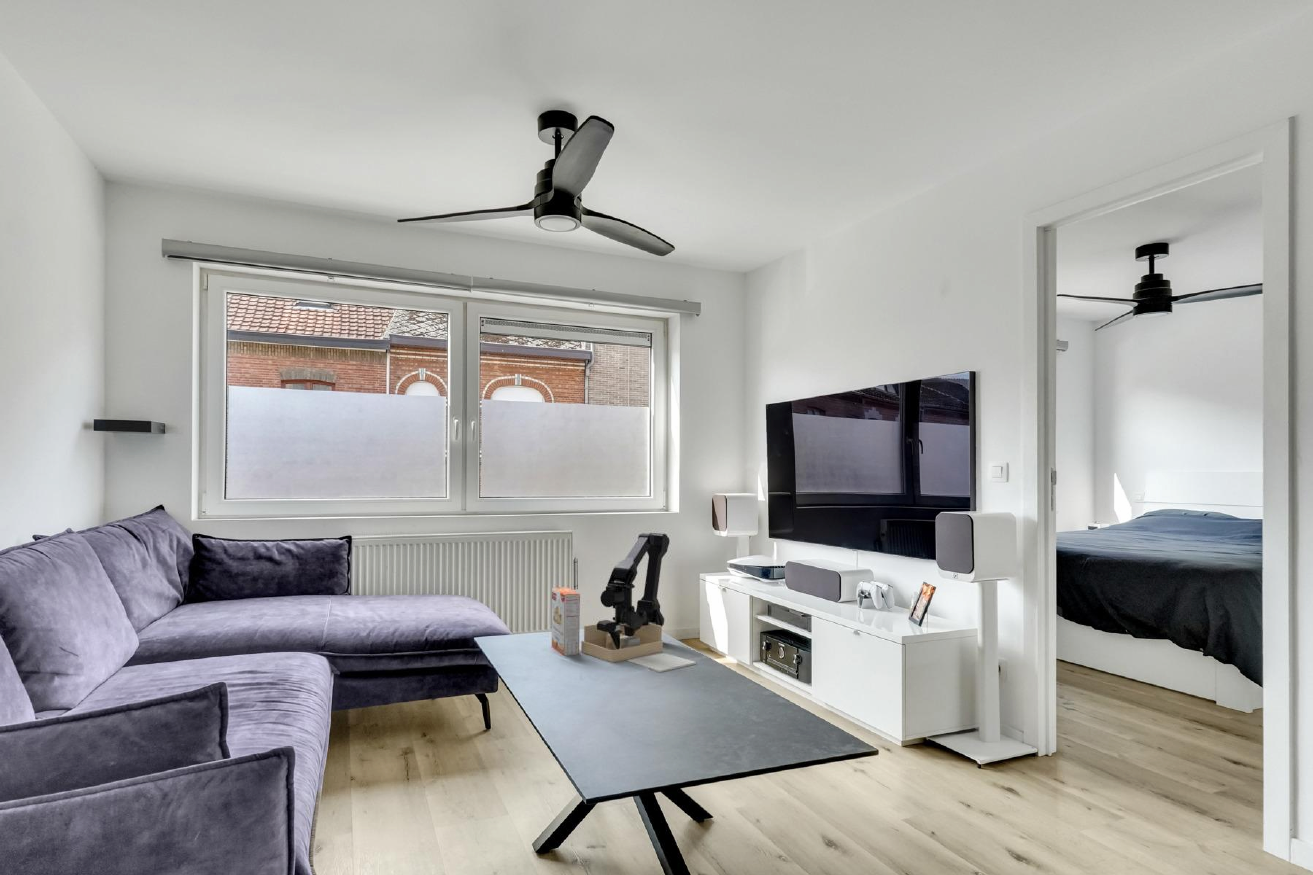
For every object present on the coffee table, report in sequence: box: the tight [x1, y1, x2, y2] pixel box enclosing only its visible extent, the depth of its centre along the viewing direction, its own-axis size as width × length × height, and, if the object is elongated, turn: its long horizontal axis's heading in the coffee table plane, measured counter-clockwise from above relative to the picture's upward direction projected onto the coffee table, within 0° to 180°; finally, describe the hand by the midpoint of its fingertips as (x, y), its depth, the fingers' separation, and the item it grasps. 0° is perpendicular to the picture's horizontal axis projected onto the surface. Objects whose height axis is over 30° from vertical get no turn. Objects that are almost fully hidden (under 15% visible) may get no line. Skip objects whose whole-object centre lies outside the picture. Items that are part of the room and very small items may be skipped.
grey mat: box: [626, 651, 697, 674], centre depth 246 cm, size 16×16×1 cm
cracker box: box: [551, 586, 581, 656], centre depth 260 cm, size 14×6×21 cm, turn 25°
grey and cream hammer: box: [606, 634, 640, 650], centre depth 258 cm, size 13×5×5 cm, turn 41°
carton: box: [580, 620, 664, 663], centre depth 258 cm, size 22×17×9 cm
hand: (622, 648), depth 258 cm, fingers closed on grey and cream hammer, 4 cm apart
